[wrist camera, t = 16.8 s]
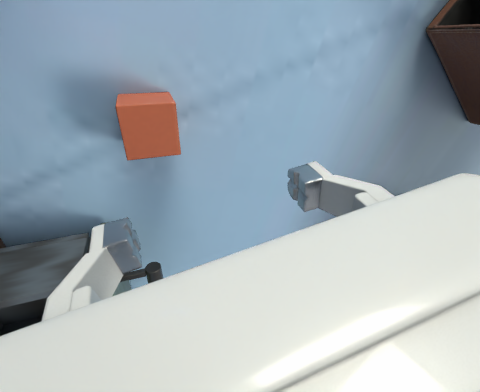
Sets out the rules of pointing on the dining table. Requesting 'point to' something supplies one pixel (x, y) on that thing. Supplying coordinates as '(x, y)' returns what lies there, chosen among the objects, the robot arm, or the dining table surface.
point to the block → (148, 125)
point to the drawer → (45, 277)
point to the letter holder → (460, 51)
